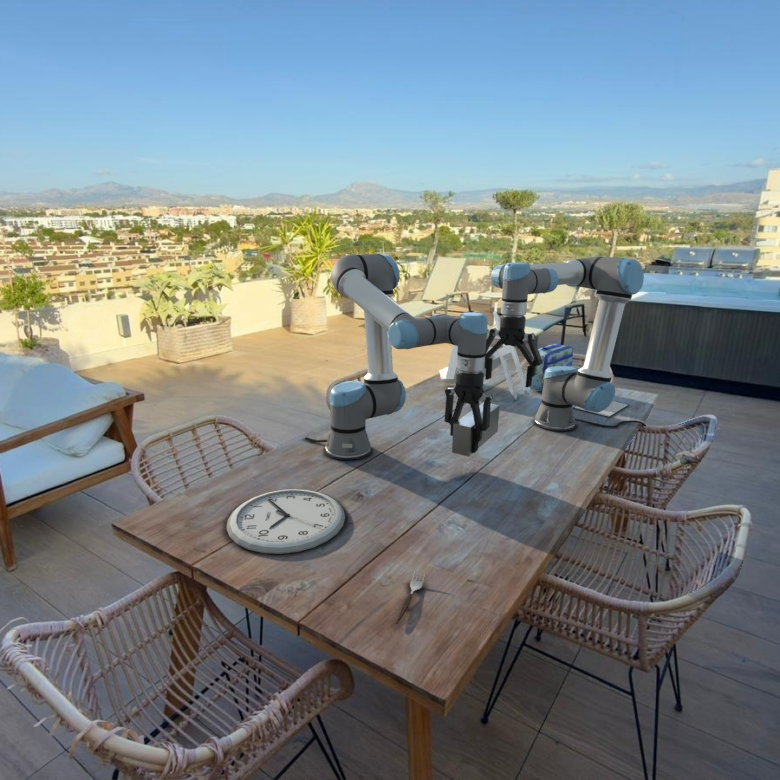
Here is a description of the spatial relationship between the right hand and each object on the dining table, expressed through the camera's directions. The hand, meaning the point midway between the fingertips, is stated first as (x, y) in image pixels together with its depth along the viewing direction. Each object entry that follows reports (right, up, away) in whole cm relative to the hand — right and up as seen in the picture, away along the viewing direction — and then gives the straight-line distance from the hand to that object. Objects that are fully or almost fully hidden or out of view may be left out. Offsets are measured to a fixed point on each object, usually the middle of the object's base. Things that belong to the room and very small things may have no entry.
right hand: (507, 382), depth 165 cm
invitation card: (+54, -10, +61) cm, 83 cm away
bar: (-12, -18, -9) cm, 23 cm away
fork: (-33, -45, -58) cm, 81 cm away
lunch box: (+39, -2, +86) cm, 95 cm away
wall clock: (-64, -36, -29) cm, 79 cm away
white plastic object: (+4, -4, +78) cm, 79 cm away
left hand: (-16, -19, -16) cm, 29 cm away
